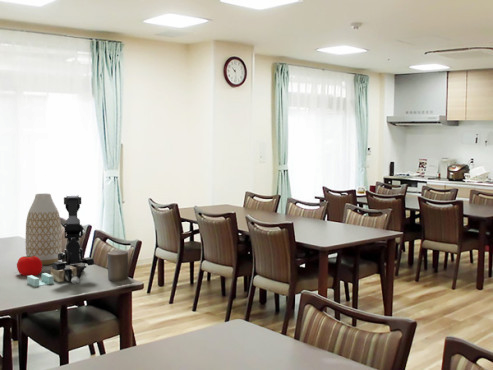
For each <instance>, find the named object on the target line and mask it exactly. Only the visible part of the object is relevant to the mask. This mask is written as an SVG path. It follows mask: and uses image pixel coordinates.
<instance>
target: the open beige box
mask: <svg viewBox="0 0 493 370" xmlns="http://www.w3.org/2000/svg"><path fill="white" fill-rule="evenodd" d="M70 269H72V275H74V276H76V271H77V269H76V268H75V267H73V266H70ZM64 272H65V271H64V270H55V269H52V267H50V275H52V276H53V277H54V281H56V282H58V283H61V282H66V281H67V280H65V279H64ZM67 282H68V281H67Z"/></svg>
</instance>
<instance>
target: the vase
mask: <svg viewBox="0 0 493 370" xmlns="http://www.w3.org/2000/svg"><path fill="white" fill-rule="evenodd" d="M51 194H52V193H36V194H35V195H34V199H33V201H32V204H30V205H31V206H30V207H29V210H28V212H27V216H26V220H25V256H33V255H34V256H36V257H38V258H39V259H40V260H41V261H42V266H49V265H52V264H53V262H59V260H58V254H59V253H63V245H62V244H63V241H62V238H63V236H62V221H61V216H60V213H59V210H58V207H57V206H56V204H55V202H54V200H53V198H52V195H51Z"/></svg>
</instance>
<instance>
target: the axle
mask: <svg viewBox="0 0 493 370" xmlns="http://www.w3.org/2000/svg"><path fill="white" fill-rule="evenodd" d="M64 279H65V280H67V282H69V281H68V278H67V275H66V273H65V272H64ZM79 282H80V279H79V278H78V277H76V276H74V275H71V282H70V283H72V284H74V285H75V284H78V283H79Z"/></svg>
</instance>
